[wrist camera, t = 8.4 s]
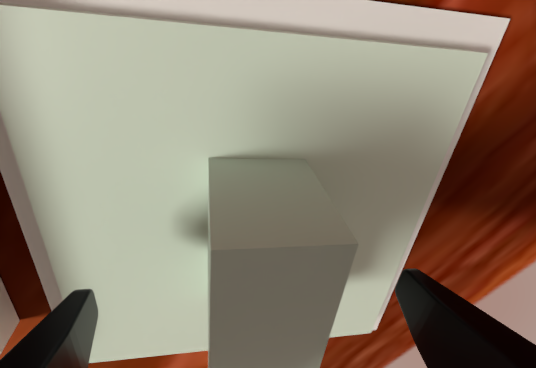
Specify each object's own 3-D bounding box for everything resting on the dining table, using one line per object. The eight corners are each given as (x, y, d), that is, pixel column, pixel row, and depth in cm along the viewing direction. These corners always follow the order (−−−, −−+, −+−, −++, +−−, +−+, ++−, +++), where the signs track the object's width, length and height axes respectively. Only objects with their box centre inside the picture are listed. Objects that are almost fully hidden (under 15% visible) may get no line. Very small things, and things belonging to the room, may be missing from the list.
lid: (363, 318, 16) (417, 426, 12) (90, 345, 14) (41, 493, 9) (468, 49, 10) (656, 85, 6) (-14, 0, 7) (-300, 5, 3)
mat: (372, 323, 17) (376, 329, 17) (73, 353, 14) (70, 361, 14) (500, 17, 10) (510, 18, 9) (-69, -56, 7) (-84, -58, 6)
